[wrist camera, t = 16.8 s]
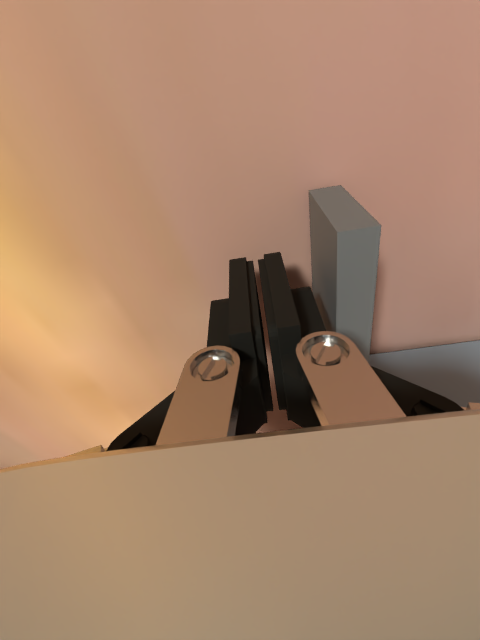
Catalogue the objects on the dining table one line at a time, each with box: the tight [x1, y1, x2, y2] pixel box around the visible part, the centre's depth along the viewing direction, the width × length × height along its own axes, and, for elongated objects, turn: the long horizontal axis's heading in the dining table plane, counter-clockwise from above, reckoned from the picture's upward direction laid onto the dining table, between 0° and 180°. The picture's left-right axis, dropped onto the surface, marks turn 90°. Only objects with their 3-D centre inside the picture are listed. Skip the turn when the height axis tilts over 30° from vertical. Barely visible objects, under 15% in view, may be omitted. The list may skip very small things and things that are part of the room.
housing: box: [309, 185, 480, 407], centre depth 16 cm, size 11×23×4 cm, turn 9°
